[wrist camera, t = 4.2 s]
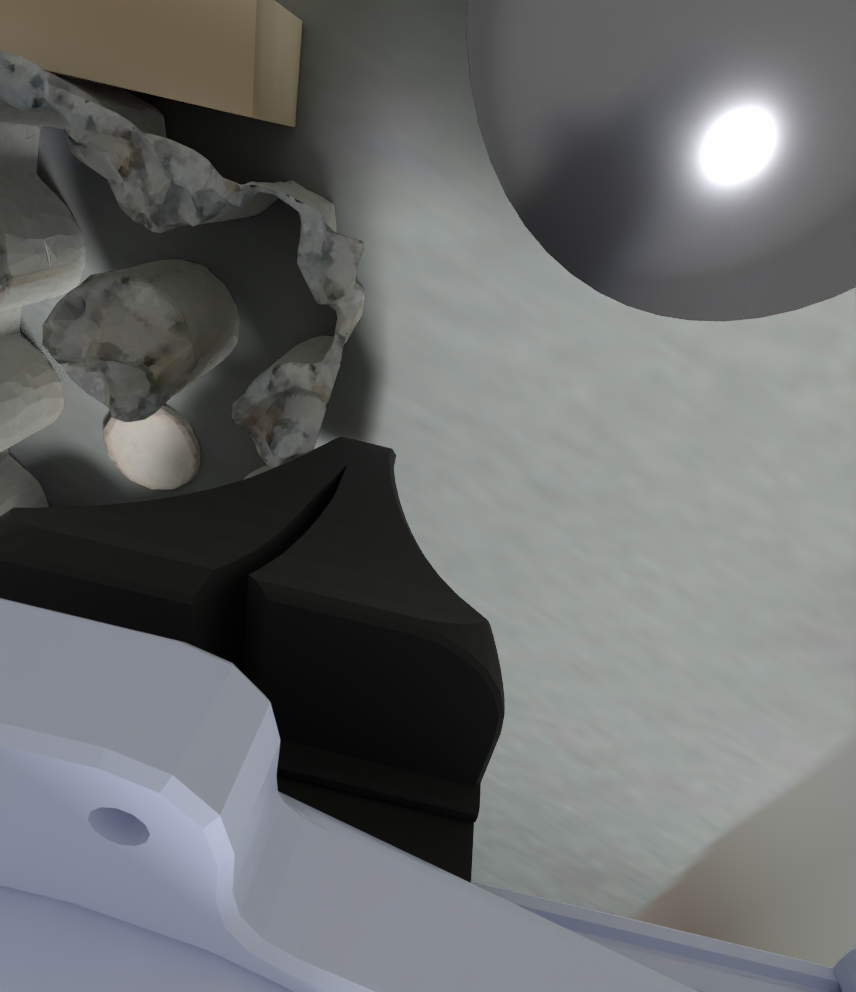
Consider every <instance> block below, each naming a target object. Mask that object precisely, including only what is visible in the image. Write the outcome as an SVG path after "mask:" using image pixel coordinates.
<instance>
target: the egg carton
mask: <svg viewBox="0 0 856 992" xmlns="http://www.w3.org/2000/svg"><path fill="white" fill-rule="evenodd" d="M42 126H44V127H54V128H63V129H65V134H66V139H67V143H68V146H69V149H70V151H71V153H72V154H73V155H74V156H75V157H77V158H78V159H79V160H80V161H81V162H83V163H84V164H86V165H87V166H89V167H90V168H91V169H93V170H94V171H96V172H97V173H99V174H100V175H102V176H103V177H105V178H106V179H107V180H108V182H109V184H110V186H111V188H112V191H113V193H114V195H115V197H116V200H117V202H118V204H119V206H120V208H121V209H122V210H123V211H124V212H125V213H126V214H127V215H128V216H129V217H130V218H131V219H132V220H133V221H135V222H137V223H140V224H142V225H144V226H146V227H147V228H148V229H149V230H151V231H152V232H156V233H162V232H165V231H168V230H171V229H174V228H177V227H180V226H187V225H191V226H193V227H194V226H196V225H198V224H206V223H213V222H219V221H227V220H233V219H240V218H245V217H251V216H254V215H257V214H259V213H261V212H263V211H264V210H266V209H267V208H268V207H269V206H270V205H271V204H272V203H274V202H275V201H276V200H277V199H278V198H280V199H281V200H283V201H284V202H286V203H287V204H288V205H290V206H291V207H293V208H294V209H295V210H297V211H298V212H299V215H300V219H301V232H300V243H299V247H298V255H297V264H298V266H299V268H300V271H301V273H302V275H303V277H304V279H305V281H306V283H307V285H308V287H309V289H310V291H311V293H312V295H313V296H314V298H315V300H316V302H317V303H318V304H328V305H329V306H330V307H332V308H333V309H334V310H335V311H336V313H337V318H338V319H337V324H336V328H335V334H334V337H333V336H319V337H313V338H311V339H308V340H306V341H303V342H301V343H299V344H297V345H295V346H294V347H293V348H292V349H291V350H289V351H288V352H287V353H286V354H285V355H283V356H282V357H281V358H279V359H278V360H277V361H276V362H275V363H273V364H272V365H271V366H270V367H269V368H268V369H266V370H265V371H264V372H263V373H261V374H260V375H259V376H258V377H256V378H255V379H254V380H253V382H252V383H251V384H250V386H249V387H248V389H247V390H246V391H245V392H244V393H243V394H242V395H241V396H240V397H239V398H238V399H237V400H236V401H235V402H234V403H233V406H232V413H231V419H232V420H233V421H234V422H235V423H236V424H237V425H240V426H242V427H243V428H245V429H246V430H247V431H248V432H249V433H250V435H251V436H252V438H253V441H254V444H255V446H256V449H257V452H258V453H259V455H260V457H261V458H262V460H263V461H264V462H265V464H266V465H265V466H262V467H260V468H258V469H256V470H255V471H253V472H251V473H250V474H248V475H247V476H246V477H244V479H247V478H250V477H253V476H255V475H258V474H260V473H263V472H265V471H268V470H270V469H273V468H275V467H277V466H280V465H282V464H285V463H287V462H289V461H292V460H294V459H296V458H298V457H300V456H302V455H304V454H306V453H308V452H310V451H312V450H314V447H315V443H316V440H317V437H318V434H319V431H320V427H321V424H322V421H323V418H324V415H325V411H326V408H327V405H328V402H329V399H330V395H331V392H332V389H333V386H334V383H335V380H336V377H337V374H338V371H339V368H340V364H341V358H342V351H343V346H344V343H346V342H347V340H348V339H349V337H350V335H351V334H352V331H353V330H354V328H355V326H356V325H357V323H358V322H359V320H360V319H361V317H362V313H363V307H364V302H365V290H364V289H363V288H362V287H361V286H360V285H359V284H358V283H357V282H356V276H357V269H358V262H359V260H360V257H361V255H362V253H363V251H364V245H363V242H362V241H361V240H356V239H351V238H346V237H344V236H342V235H340V234H338V233H337V223H336V216H335V209H334V204H332V203H331V202H329V201H327V200H326V199H324V198H323V197H321V196H319V195H317V194H315V193H313V192H311V191H309V190H307V189H305V188H303V187H302V186H300V185H299V184H297V183H296V182H294V181H287V182H285V183H284V182H277V183H267V182H262V183H256V182H252V181H251V182H249V183H246V184H243V185H240V184H238V183H235V182H233V181H230V180H228V179H225V178H223V177H222V176H221V175H220V174H219V173H218V172H217V171H216V169H215V168H214V167H213V166H212V164H211V163H210V162H209V160H208V159H206V158H205V157H203V156H202V155H201V154H199V153H198V152H196V151H195V150H193V149H191V148H189V147H187V146H184V145H182V144H180V143H177V142H175V141H173V140H170V139H167V138H166V130H165V122H164V116H163V115H162V114H161V113H160V112H159V111H158V110H157V108H156V107H154V106H152V105H150V104H148V103H146V102H144V101H142V100H141V99H139V98H137V97H135V96H133V95H131V94H130V93H128V92H126V91H125V90H124V88H123V89H122V88H118V87H113V86H106V85H100V84H96V83H93V82H90V81H86V80H80V79H72V78H68V77H64V76H60V75H57V74H53V73H50V72H48V71H45V70H43V69H42V68H41V67H39V66H38V65H37V64H36V63H34V62H31V61H29V60H27V59H25V58H23V57H21V56H19V55H16V54H13V53H10V52H7V51H4V50H1V49H0V516H1V515H3V514H4V513H6V512H7V511H9V510H10V509H12V508H41V507H49V506H48V503H47V499H46V496H45V494H44V492H43V490H42V488H41V486H40V484H39V482H38V481H37V480H36V479H35V478H34V477H33V475H32V474H31V473H29V472H28V471H27V470H26V469H24V468H23V467H22V466H21V465H20V464H19V463H18V462H17V461H16V460H15V459H13V458H12V457H11V456H10V454H9V451H8V448H9V447H11V446H13V445H15V444H16V443H18V442H20V441H22V440H23V439H25V438H27V437H28V436H30V435H32V434H34V433H36V432H38V431H39V430H41V429H43V428H45V427H47V426H49V425H50V424H52V423H53V422H54V421H55V420H56V419H57V418H58V416H59V415H60V414H61V412H62V409H63V407H64V396H63V390H62V385H61V381H60V379H59V378H58V376H57V374H56V372H55V370H54V369H53V368H52V367H51V365H50V364H49V362H48V360H47V358H46V357H45V356H44V355H43V354H42V353H41V352H40V351H39V350H38V349H37V348H35V347H34V346H33V345H31V343H30V342H29V341H27V340H26V339H25V338H24V337H22V336H21V333H20V320H21V309H22V306H25V305H28V304H32V303H35V302H39V301H44V300H48V299H51V298H54V297H57V296H60V295H63V294H65V293H67V292H69V293H67V294H66V295H65V296H64V297H63V298H62V299H61V300H60V301H59V302H58V303H57V304H56V306H55V307H54V309H53V310H52V312H51V313H50V315H49V316H48V318H47V319H46V321H45V322H44V324H43V346H44V347H45V349H46V350H47V351H48V352H49V353H50V354H51V356H52V357H53V358H54V359H55V360H56V361H57V362H58V363H59V364H63V366H64V369H65V371H66V373H67V374H68V375H69V376H70V377H71V378H72V380H73V381H74V382H75V383H76V384H77V385H78V386H79V387H81V388H82V389H83V390H84V391H85V392H87V393H88V394H89V395H91V396H92V397H94V398H95V399H97V400H98V401H100V402H101V403H103V404H104V405H106V406H107V407H109V409H110V413H111V418H110V419H109V421H108V423H107V425H106V426H105V428H104V430H103V434H104V443H105V446H106V449H107V452H108V456H109V457H110V458H111V460H112V461H113V462H114V464H115V465H116V467H117V468H118V469H119V470H120V471H121V472H122V473H123V474H124V475H125V476H126V477H127V478H128V479H129V480H131V481H133V482H135V483H137V484H139V485H143V486H145V487H147V488H149V489H151V490H157V489H160V490H168V489H176V488H178V487H180V486H182V485H184V484H186V483H188V482H190V481H191V480H193V479H194V477H195V476H196V474H197V473H198V471H199V467H200V457H201V452H200V446H199V442H198V440H197V438H196V436H195V434H194V432H193V430H192V428H191V426H190V424H189V423H188V422H187V421H186V420H185V419H184V418H183V417H182V416H181V415H180V414H178V413H177V412H175V411H174V410H173V409H171V408H170V407H168V406H165V405H164V404H165V403H166V402H167V401H168V400H169V399H170V398H171V397H172V396H174V395H175V394H177V393H178V392H180V391H181V390H183V389H184V388H186V387H187V386H189V385H190V384H191V383H193V382H194V381H196V380H197V379H199V378H200V377H202V376H203V375H204V374H206V373H207V372H209V371H210V370H211V369H213V368H214V367H215V366H217V365H218V364H219V363H221V362H222V361H223V360H225V359H226V358H227V357H228V356H229V355H230V354H231V353H232V351H233V349H234V347H235V346H236V345H237V343H238V340H239V322H240V318H239V315H238V311H237V307H236V304H235V303H234V301H233V299H232V296H231V294H230V293H229V291H228V289H227V288H226V286H225V285H224V284H223V283H222V282H221V281H220V280H219V279H218V278H216V277H215V276H214V275H213V274H212V273H211V272H210V271H209V270H208V269H207V268H206V267H205V266H203V265H200V264H195V263H193V262H189V261H185V260H181V259H168V260H158V261H153V262H149V263H145V264H141V265H137V266H133V267H129V268H125V269H120V270H116V271H111V272H106V273H100V274H94V275H90V276H89V277H88V278H87V279H86V280H85V281H84V282H83V283H82V284H81V285H79V286H78V287H76V286H77V285H78V283H79V281H80V279H81V277H82V273H83V269H84V266H85V262H86V247H85V243H84V239H83V236H82V232H81V230H80V228H79V227H78V225H77V223H76V222H75V220H74V218H73V216H72V214H71V212H70V211H69V209H68V208H67V207H66V205H65V204H64V203H63V202H62V200H61V199H60V198H59V197H58V196H57V195H56V194H55V193H54V192H53V191H52V190H51V189H50V188H49V187H48V186H47V185H46V184H45V183H44V182H43V181H42V180H41V179H40V177H39V176H38V175H37V161H38V149H39V139H40V131H41V128H42ZM75 287H76V288H75ZM244 479H243V480H244Z"/></svg>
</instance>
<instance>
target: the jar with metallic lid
mask: <svg viewBox="0 0 856 992" xmlns="http://www.w3.org/2000/svg"><path fill="white" fill-rule="evenodd" d="M467 44H468V57H469V70H470V81H471V86H472V91H473V97H474V102H475V107H476V113H477V118H478V123H479V126H480V129H481V132H482V136H483V139H484V142H485V145H486V148H487V152H488V155H489V158H490V161H491V163H492V165H493V168H494V170H495V172H496V174H497V176H498V179H499V181H500V183H501V185H502V187H503V190H504V192H505V194H506V196H507V198H508V199H509V201H510V202H511V204H512V206H513V207H514V209H515V210H516V212H517V214H518V215H519V217H520V218H521V220H522V222H523V223H524V225H525V226H526V227H527V229H528V230H529V231H530V232H531V233H532V235H533V236H534V237H535V238H536V239H537V241H538V242H539V243H540V244H541V245H542V247H543V248H544V249H545V250H546V251H547V252H548V253H549V254H550V255H551V256H552V257H553V258H554V259H555V260H556V261H558V262H559V263H560V264H561V265H562V266H563V267H564V268H565V269H566V270H567V271H569V272H570V273H571V274H572V275H574V276H575V277H577V278H578V279H580V280H581V281H583V282H584V283H586V284H587V285H589V286H590V287H592V288H593V289H595V290H596V291H598V292H600V293H602V294H604V295H606V296H608V297H610V298H612V299H614V300H616V301H618V302H621V303H623V304H625V305H627V306H630V307H633V308H637V309H640V310H643V311H646V312H650V313H653V314H656V315H661V316H667V317H673V318H679V319H685V320H697V321H732V320H742V319H753V318H761V317H766V316H770V315H775V314H779V313H784V312H788V311H793V310H797V309H800V308H803V307H806V306H809V305H812V304H815V303H818V302H821V301H824V300H827V299H830V298H833V297H835V296H837V295H839V294H842V293H844V292H846V291H848V290H850V289H852V288H855V287H856V0H468V4H467Z"/></svg>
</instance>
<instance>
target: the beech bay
mask: <svg viewBox="0 0 856 992" xmlns="http://www.w3.org/2000/svg"><path fill="white" fill-rule="evenodd" d="M302 23H303V21H302V20H300V19H299V18H298V17H296V16H295V15H294V14H292V13H291V12H290V11H288V10H287V9H286V8H284V7H283V6H282V5H280V4H279V3H278V2H276V1H275V0H0V49H1V50H4V51H7V52H10V53H13V54H16V55H19V56H21V57H23V58H25V59H27V60H29V61H31V62H34V63H36V64H37V65H38V66H39V67H41V68H42V69H43V70H48V71H52V72H56V73H61V74H65V75H69V76H74V77H78V78H82V79H87V80H91V81H95V82H100V83H104V84H108V85H113V86H117V87H121V88H126V89H130V90H134V91H139V92H143V93H147V94H151V95H156V96H160V97H164V98H169V99H173V100H177V101H182V102H186V103H190V104H195V105H199V106H203V107H208V108H212V109H216V110H221V111H225V112H229V113H234V114H238V115H242V116H247V117H251V118H255V119H260V120H264V121H269V122H273V123H278V124H283V125H287V126H292V127H295V121H296V107H297V93H298V79H299V65H300V51H301V37H302Z"/></svg>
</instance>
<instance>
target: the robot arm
mask: <svg viewBox="0 0 856 992" xmlns="http://www.w3.org/2000/svg"><path fill="white" fill-rule="evenodd" d="M395 458H396V454H395V453H394V451H393V450H392V449H391V448H387V447H383V446H378V445H374V444H370V443H366V442H361V441H357V440H353V439H349V438H345V437H339V438H336V439H334V440H332V441H330V442H328V443H326V444H324V445H322V446H320V447H318V448H316V449H314V450H312V451H310V452H308V453H306V454H304V455H302V456H300V457H298V458H296V459H294V460H292V461H289V462H287V463H285V464H282V465H280V466H277V467H275V468H273V469H270V470H268V471H265V472H263V473H260V474H258V475H255V476H253V477H250V478H247V479H244V480H241V481H238V482H235V483H231V484H228V485H224V486H221V487H217V488H213V489H210V490H205V491H201V492H196V493H191V494H185V495H180V496H175V497H170V498H164V499H159V500H152V501H144V502H135V503H127V504H115V505H103V506H87V507H41V508H12V509H10V510H9V511H7V512H6V513H4V514H3V515H1V516H0V992H856V945H854V946H852V947H851V948H850V949H849V950H848V951H846V952H845V953H844V954H843V956H842V957H841V958H840V959H839V960H838V962H837V963H836V965H835V966H834V967H830V966H826V965H822V964H818V963H813V962H809V961H805V960H801V959H797V958H792V957H788V956H784V955H780V954H776V953H772V952H767V951H763V950H759V949H755V948H751V947H746V946H742V945H738V944H734V943H730V942H726V941H722V940H717V939H713V938H709V937H704V936H701V935H697V934H692V933H688V932H684V931H680V930H676V929H671V928H667V927H663V926H659V925H655V924H651V923H647V922H642V921H638V920H634V919H630V918H626V917H621V916H617V915H613V914H609V913H605V912H601V911H596V910H592V909H588V908H584V907H580V906H576V905H571V904H567V903H563V902H559V901H555V900H551V899H546V898H542V897H538V896H534V895H530V894H526V893H521V892H517V891H513V890H509V889H505V888H501V887H496V886H492V885H488V884H484V883H480V882H476V881H471V869H472V849H473V829H474V822H476V819H477V817H478V813H479V807H480V783H481V780H482V778H483V775H484V773H485V771H486V768H487V766H488V763H489V761H490V758H491V756H492V753H493V751H494V748H495V746H496V743H497V741H498V738H499V736H500V734H501V729H502V724H503V719H504V690H503V682H502V675H501V669H500V664H499V659H498V654H497V649H496V645H495V641H494V637H493V633H492V630H491V626H490V624H489V622H488V620H487V619H486V618H484V617H483V616H482V615H481V614H480V613H478V612H477V611H476V610H475V609H474V608H472V607H471V606H470V605H469V604H468V603H466V602H465V601H464V600H463V599H462V598H460V597H459V596H458V595H457V594H456V593H455V592H454V591H453V590H452V589H451V588H450V587H449V586H448V585H447V584H446V583H445V582H444V581H443V579H442V578H441V577H440V576H439V575H438V574H437V572H436V571H435V570H434V568H433V567H432V566H431V564H430V563H429V562H428V560H427V559H426V558H425V556H424V554H423V553H422V551H421V549H420V548H419V546H418V544H417V542H416V540H415V538H414V536H413V535H412V533H411V530H410V528H409V526H408V523H407V521H406V518H405V516H404V513H403V510H402V507H401V504H400V500H399V497H398V492H397V488H396V484H395V477H394V464H395Z"/></svg>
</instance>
